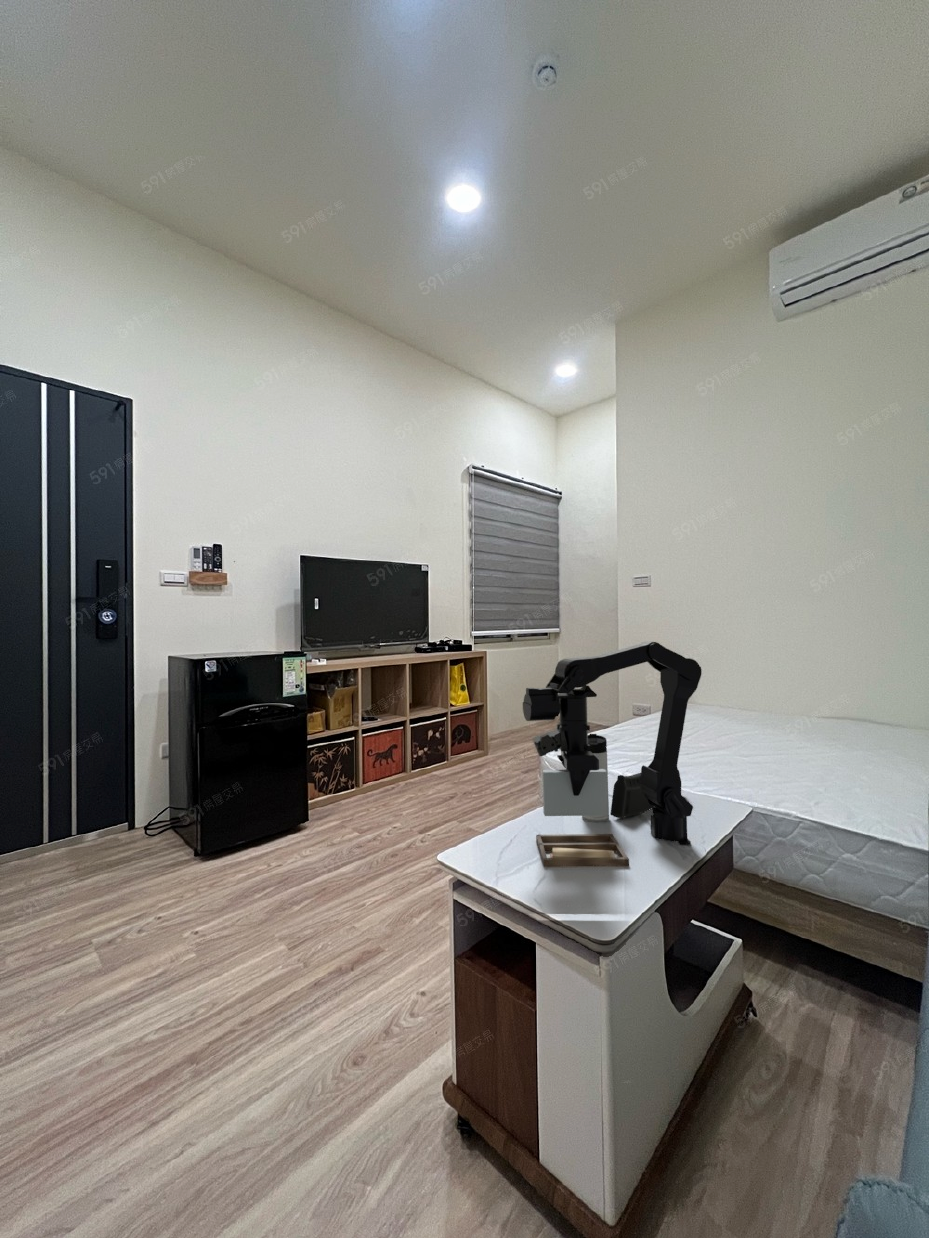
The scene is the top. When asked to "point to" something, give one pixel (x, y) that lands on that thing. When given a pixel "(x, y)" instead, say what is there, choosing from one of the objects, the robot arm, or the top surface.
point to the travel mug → (600, 751)
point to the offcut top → (580, 853)
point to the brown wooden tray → (581, 862)
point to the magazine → (628, 797)
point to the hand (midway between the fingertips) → (575, 793)
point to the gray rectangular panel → (565, 803)
